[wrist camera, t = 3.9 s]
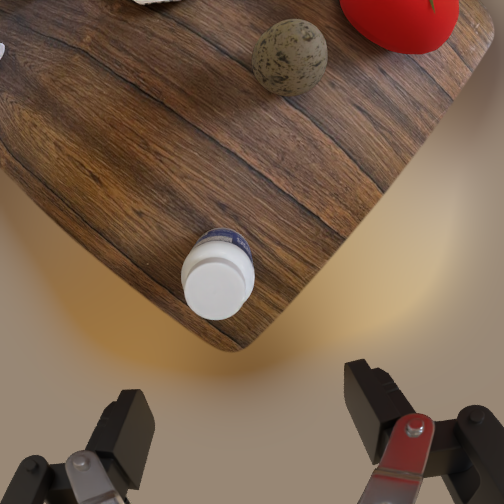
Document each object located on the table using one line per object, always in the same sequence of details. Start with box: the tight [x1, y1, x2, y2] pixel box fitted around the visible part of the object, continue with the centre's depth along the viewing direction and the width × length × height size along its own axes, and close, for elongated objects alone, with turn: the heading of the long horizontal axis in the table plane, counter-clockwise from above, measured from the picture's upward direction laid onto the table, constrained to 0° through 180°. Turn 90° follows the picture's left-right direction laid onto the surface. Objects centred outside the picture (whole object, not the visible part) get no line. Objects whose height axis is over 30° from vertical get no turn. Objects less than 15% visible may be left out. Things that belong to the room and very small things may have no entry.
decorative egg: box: [252, 19, 328, 96], centre depth 21 cm, size 6×6×10 cm
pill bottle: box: [181, 228, 255, 320], centre depth 25 cm, size 5×5×10 cm
